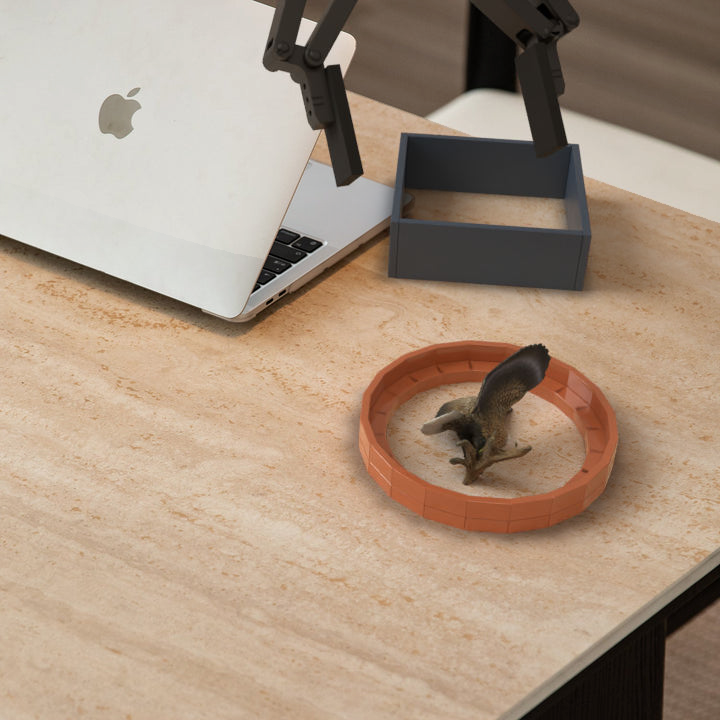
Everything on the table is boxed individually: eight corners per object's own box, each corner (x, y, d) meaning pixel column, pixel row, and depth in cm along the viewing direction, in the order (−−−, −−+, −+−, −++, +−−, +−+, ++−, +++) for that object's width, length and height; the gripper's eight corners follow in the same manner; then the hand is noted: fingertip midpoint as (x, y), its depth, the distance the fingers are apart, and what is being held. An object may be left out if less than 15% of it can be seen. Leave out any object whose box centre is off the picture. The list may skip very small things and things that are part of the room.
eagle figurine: (563, 492, 72) (576, 378, 78) (505, 415, 68) (522, 301, 74) (450, 517, 76) (470, 407, 82) (388, 445, 72) (414, 335, 78)
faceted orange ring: (599, 386, 82) (606, 349, 81) (620, 552, 70) (629, 513, 68) (368, 368, 83) (370, 332, 81) (349, 530, 71) (350, 492, 69)
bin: (569, 204, 102) (579, 143, 99) (581, 300, 91) (591, 235, 87) (397, 192, 103) (400, 132, 99) (387, 286, 91) (390, 221, 88)
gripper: (528, -149, 83) (598, 157, 82) (167, -133, 75) (241, 209, 74) (584, -210, 76) (662, 123, 75) (193, -201, 68) (275, 176, 67)
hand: (454, 166), depth 74 cm, fingers open, 13 cm apart
